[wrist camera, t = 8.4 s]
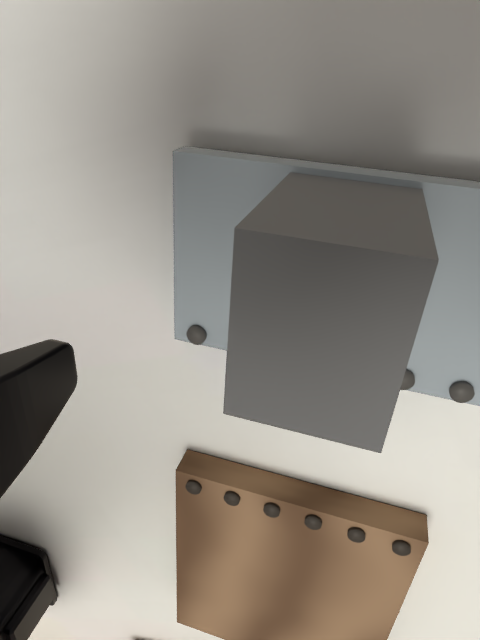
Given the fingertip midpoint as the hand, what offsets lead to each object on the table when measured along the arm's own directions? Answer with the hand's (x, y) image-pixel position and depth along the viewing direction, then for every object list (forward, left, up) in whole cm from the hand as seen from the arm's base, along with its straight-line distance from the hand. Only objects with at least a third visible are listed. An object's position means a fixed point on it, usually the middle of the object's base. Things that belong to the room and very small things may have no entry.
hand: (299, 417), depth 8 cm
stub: (0, -1, -10) cm, 10 cm away
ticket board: (0, -20, -10) cm, 22 cm away
